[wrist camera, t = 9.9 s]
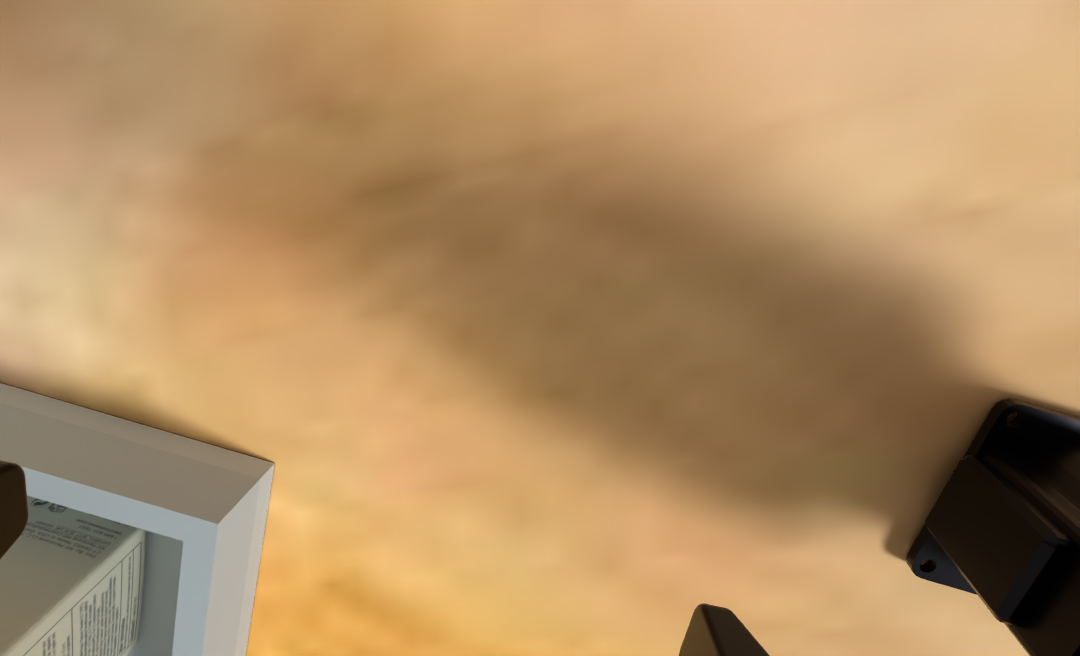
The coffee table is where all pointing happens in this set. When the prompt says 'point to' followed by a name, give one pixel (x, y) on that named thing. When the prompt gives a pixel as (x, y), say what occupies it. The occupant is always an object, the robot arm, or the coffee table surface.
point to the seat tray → (154, 513)
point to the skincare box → (71, 585)
